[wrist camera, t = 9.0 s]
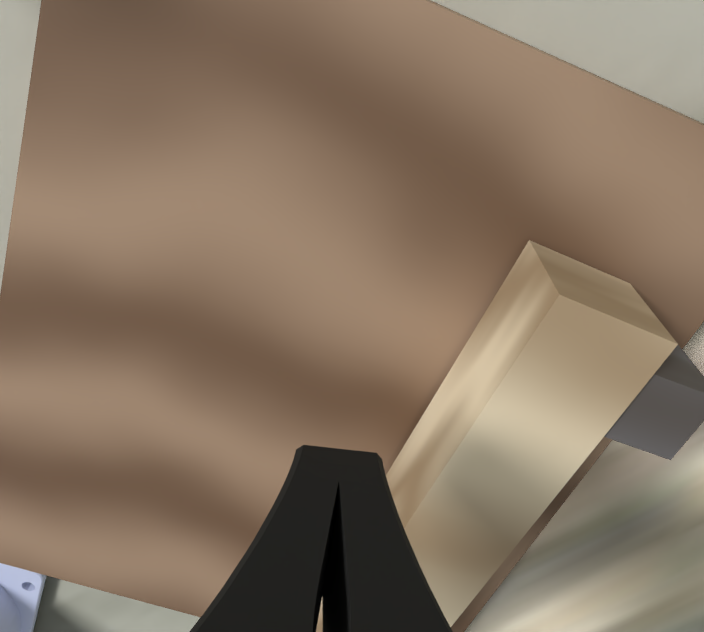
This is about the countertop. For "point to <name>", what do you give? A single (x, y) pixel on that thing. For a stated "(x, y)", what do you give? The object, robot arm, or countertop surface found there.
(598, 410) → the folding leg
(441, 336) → the wooden board
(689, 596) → the countertop surface
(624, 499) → the countertop surface
